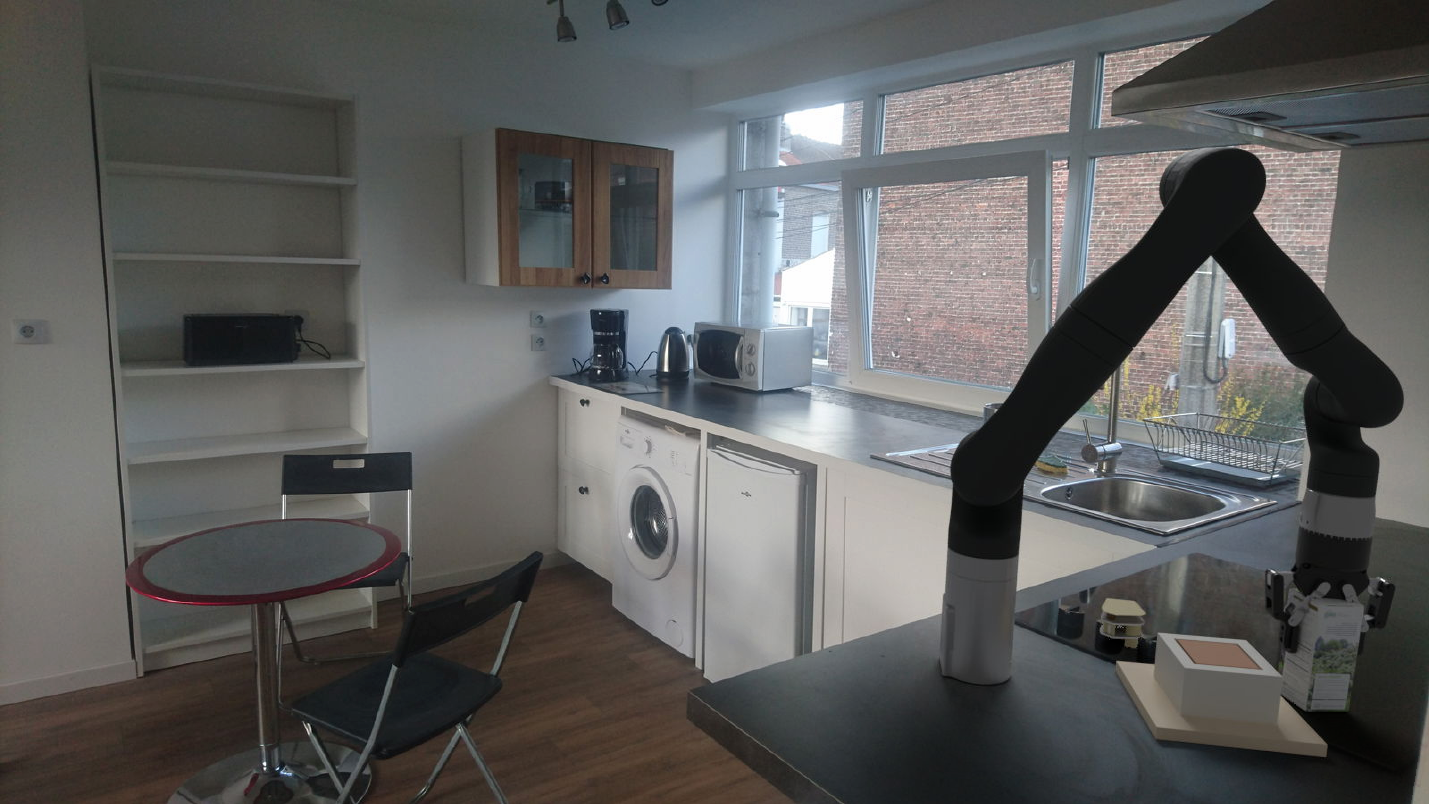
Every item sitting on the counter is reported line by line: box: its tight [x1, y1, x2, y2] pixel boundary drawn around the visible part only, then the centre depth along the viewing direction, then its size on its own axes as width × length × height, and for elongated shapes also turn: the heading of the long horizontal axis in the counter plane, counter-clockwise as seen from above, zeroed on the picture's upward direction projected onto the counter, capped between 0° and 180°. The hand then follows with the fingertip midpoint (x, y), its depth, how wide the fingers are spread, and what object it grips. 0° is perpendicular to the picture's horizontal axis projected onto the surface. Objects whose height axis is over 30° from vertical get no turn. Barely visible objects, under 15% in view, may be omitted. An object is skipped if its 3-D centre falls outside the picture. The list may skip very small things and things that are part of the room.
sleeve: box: [1115, 632, 1329, 758], centre depth 108 cm, size 18×18×8 cm
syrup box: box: [1277, 587, 1365, 713], centre depth 110 cm, size 6×6×14 cm
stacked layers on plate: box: [1099, 597, 1146, 649], centre depth 129 cm, size 10×9×6 cm
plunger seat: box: [1177, 640, 1259, 670], centre depth 108 cm, size 7×7×1 cm
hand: (1319, 653), depth 110 cm, fingers closed on syrup box, 6 cm apart
